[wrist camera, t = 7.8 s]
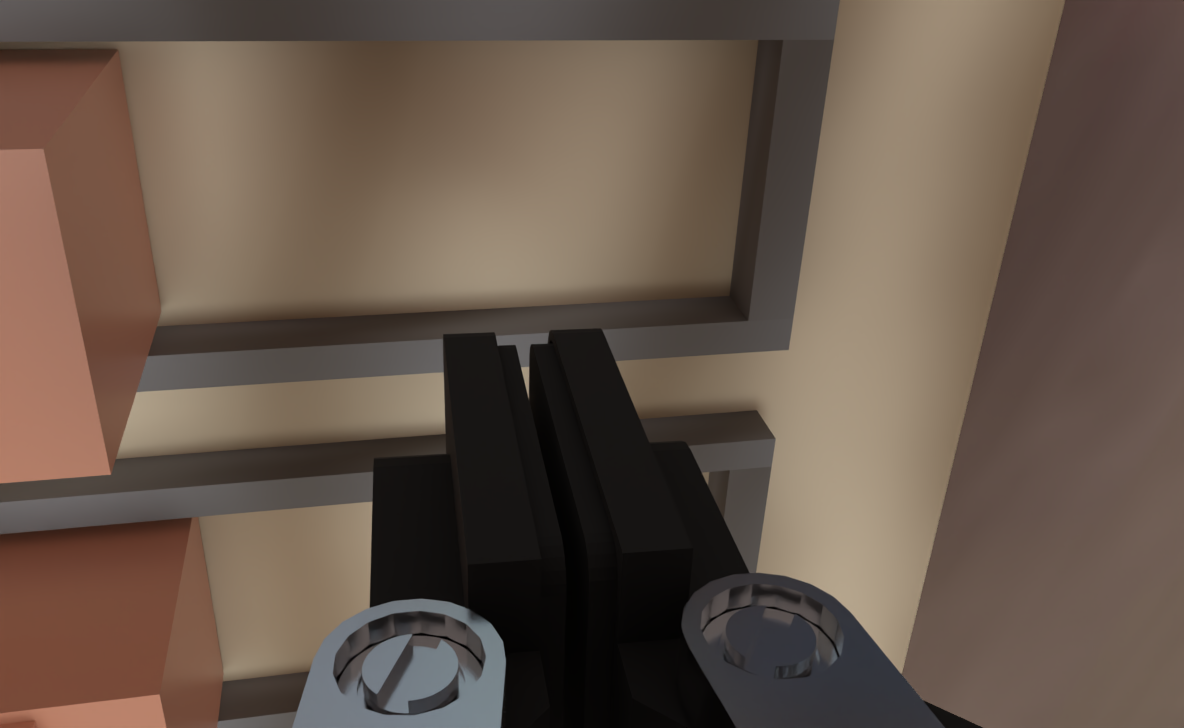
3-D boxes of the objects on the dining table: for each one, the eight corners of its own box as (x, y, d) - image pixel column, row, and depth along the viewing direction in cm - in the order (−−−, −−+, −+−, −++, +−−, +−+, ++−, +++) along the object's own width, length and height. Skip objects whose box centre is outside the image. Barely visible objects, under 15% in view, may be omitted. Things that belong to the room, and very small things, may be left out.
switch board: (1053, -141, 18) (1139, -129, 16) (877, 644, 26) (920, 713, 24) (-758, -206, 13) (-946, -200, 11) (-268, 788, 21) (-327, 889, 19)
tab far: (195, 500, 18) (150, 740, 14) (223, 673, 20) (192, 933, 16) (-62, 522, 18) (-197, 783, 13) (-8, 699, 20) (-109, 982, 15)
